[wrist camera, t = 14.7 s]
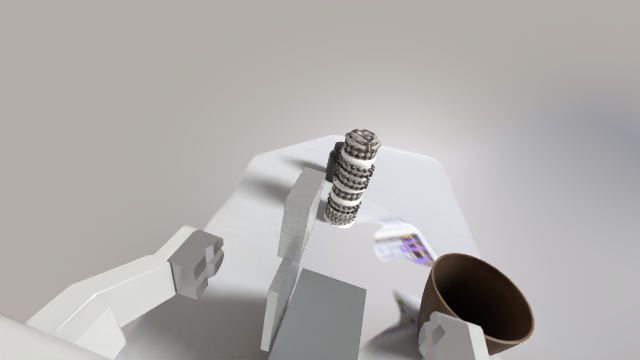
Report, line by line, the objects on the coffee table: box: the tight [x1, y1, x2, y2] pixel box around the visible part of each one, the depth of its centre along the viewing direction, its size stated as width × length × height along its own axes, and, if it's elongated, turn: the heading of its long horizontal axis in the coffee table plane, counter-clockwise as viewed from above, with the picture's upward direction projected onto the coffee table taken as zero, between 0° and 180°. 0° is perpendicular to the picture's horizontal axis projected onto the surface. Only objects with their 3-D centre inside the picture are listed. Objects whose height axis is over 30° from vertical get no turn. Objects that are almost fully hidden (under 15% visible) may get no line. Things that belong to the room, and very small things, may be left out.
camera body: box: [268, 268, 366, 360], centre depth 40 cm, size 16×10×14 cm, turn 165°
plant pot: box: [418, 253, 534, 356], centre depth 46 cm, size 15×15×16 cm
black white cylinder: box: [324, 129, 381, 228], centre depth 67 cm, size 9×9×25 cm
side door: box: [261, 167, 326, 352], centre depth 31 cm, size 10×2×20 cm, turn 165°
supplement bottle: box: [325, 142, 344, 183], centre depth 86 cm, size 7×7×12 cm
